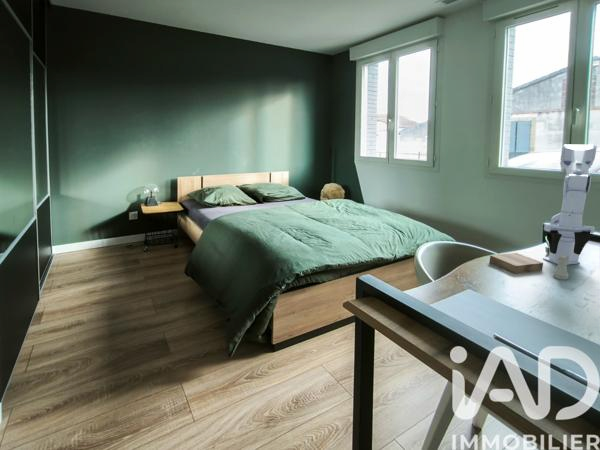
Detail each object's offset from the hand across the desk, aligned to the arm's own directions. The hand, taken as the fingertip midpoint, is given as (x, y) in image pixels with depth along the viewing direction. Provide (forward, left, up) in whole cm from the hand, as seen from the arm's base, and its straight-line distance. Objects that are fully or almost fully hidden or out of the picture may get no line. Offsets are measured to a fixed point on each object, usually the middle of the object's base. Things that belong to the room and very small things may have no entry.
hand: (564, 253), depth 119 cm
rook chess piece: (-3, -3, -10) cm, 11 cm away
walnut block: (+3, -16, -10) cm, 19 cm away
